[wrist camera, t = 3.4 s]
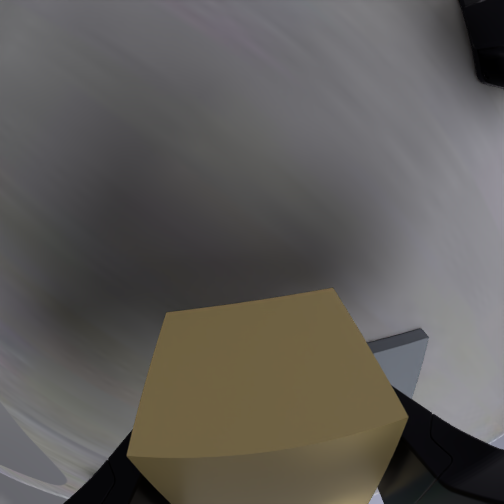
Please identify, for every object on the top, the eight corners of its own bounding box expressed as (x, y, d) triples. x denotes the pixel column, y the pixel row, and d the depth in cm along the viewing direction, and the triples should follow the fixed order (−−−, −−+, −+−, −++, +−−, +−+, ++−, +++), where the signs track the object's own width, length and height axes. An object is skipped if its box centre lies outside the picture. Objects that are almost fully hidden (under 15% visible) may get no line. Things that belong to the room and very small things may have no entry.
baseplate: (421, 328, 17) (428, 337, 16) (391, 433, 21) (395, 441, 20) (229, 368, 16) (229, 380, 16) (255, 464, 21) (256, 473, 20)
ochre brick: (333, 287, 9) (408, 416, 4) (330, 397, 11) (367, 505, 6) (166, 312, 9) (126, 455, 4) (203, 415, 11) (199, 529, 6)
